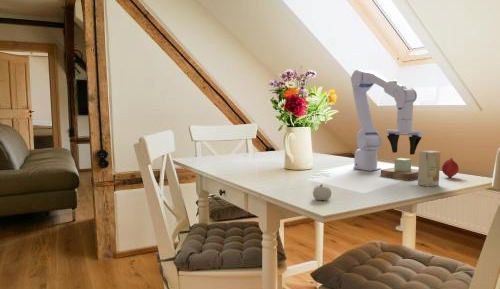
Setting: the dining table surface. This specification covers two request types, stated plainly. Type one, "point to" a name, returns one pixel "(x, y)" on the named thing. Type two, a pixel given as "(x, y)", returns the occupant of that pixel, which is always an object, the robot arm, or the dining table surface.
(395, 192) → the dining table surface
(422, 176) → the skincare box
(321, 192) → the grey pumpkin
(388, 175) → the light brown block
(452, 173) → the onion
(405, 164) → the sage cube
